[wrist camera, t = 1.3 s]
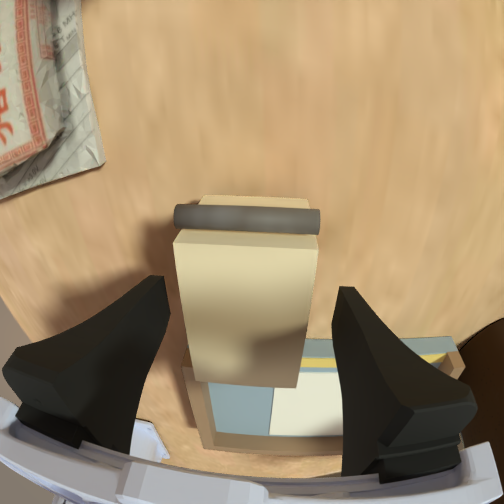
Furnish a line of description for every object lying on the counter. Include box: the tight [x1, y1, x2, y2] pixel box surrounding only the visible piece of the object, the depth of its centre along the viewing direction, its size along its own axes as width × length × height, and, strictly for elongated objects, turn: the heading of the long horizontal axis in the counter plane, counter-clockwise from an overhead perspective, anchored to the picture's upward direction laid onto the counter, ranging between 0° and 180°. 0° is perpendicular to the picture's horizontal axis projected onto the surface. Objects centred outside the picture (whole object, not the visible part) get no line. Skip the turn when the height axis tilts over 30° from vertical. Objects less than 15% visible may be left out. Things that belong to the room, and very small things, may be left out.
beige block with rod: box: [173, 195, 320, 388], centre depth 13 cm, size 8×4×6 cm, turn 0°
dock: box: [181, 336, 465, 456], centre depth 20 cm, size 12×18×3 cm, turn 90°
